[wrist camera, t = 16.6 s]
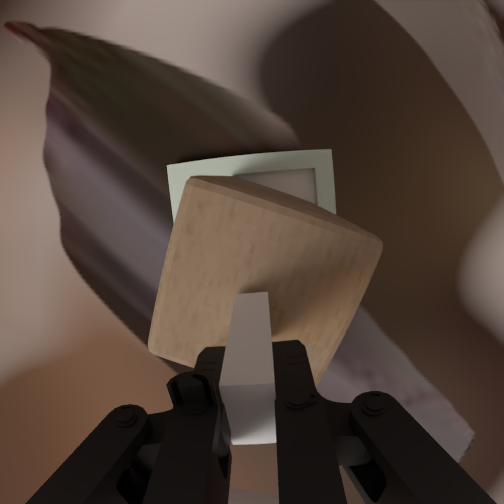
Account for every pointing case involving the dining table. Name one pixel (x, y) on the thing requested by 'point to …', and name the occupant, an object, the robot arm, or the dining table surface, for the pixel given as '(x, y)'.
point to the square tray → (266, 174)
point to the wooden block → (258, 269)
